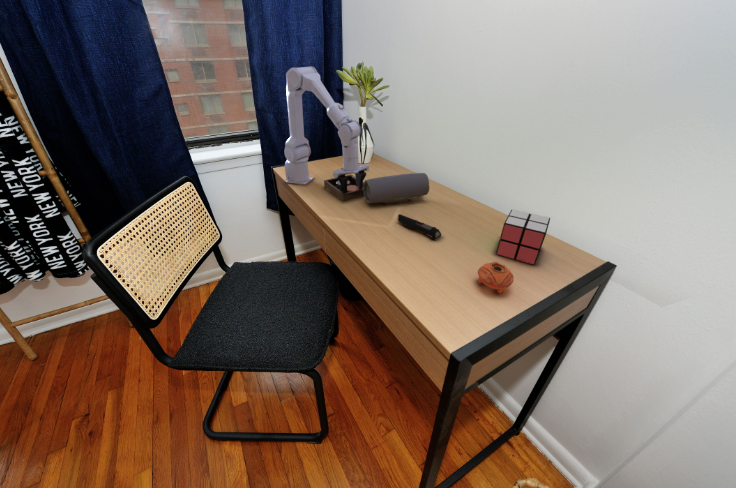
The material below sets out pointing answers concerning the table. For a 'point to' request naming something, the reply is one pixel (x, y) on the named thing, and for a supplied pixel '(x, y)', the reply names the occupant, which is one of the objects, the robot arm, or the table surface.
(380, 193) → the bluetooth speaker
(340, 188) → the gray and black puck
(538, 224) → the puzzle cube
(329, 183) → the dark brown tray
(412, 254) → the table surface
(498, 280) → the pot
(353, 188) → the terracotta coaster
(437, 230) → the electric trimmer
